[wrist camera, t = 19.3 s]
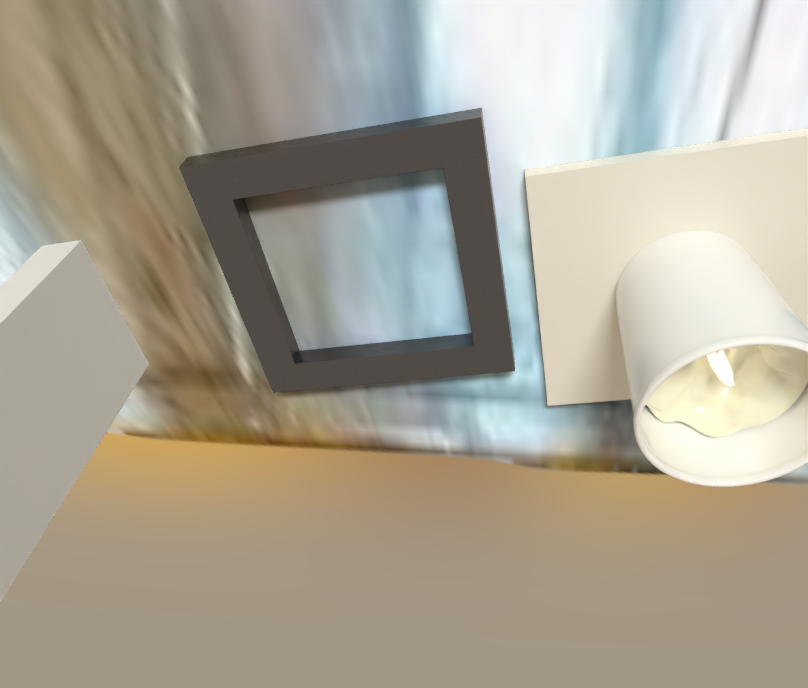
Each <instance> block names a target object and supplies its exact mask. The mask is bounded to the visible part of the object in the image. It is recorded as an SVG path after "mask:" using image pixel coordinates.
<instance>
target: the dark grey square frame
mask: <svg viewBox="0 0 808 688" xmlns="http://www.w3.org/2000/svg"><path fill="white" fill-rule="evenodd" d="M179 168H180V170H181V173H182V175H183V177H184V180H185V182H186V185H187V187H188V189H189V192H190V194H191V197H192V199H193V201H194V204H195V206H196V209H197V211H198V213H199V216H200V218H201V221H202V223H203V225H204V228H205V230H206V233H207V235H208V237H209V240H210V242H211V245H212V247H213V249H214V252H215V254H216V257H217V259H218V261H219V264H220V266H221V269H222V271H223V273H224V276H225V278H226V281H227V283H228V285H229V288H230V290H231V293H232V295H233V297H234V300H235V302H236V305H237V307H238V309H239V312H240V314H241V317H242V319H243V321H244V324H245V326H246V329H247V331H248V333H249V336H250V338H251V341H252V343H253V345H254V348H255V350H256V353H257V355H258V357H259V360H260V362H261V365H262V367H263V369H264V372H265V374H266V377H267V379H268V381H269V384H270V386H271V389H272V391H273V393H275V392H286V391H297V390H309V389H320V388H331V387H342V386H353V385H364V384H375V383H387V382H398V381H409V380H420V379H431V378H442V377H453V376H464V375H476V374H487V373H498V372H509V371H515V361H514V351H513V344H512V336H511V328H510V321H509V313H508V305H507V298H506V290H505V283H504V275H503V267H502V260H501V252H500V244H499V237H498V229H497V222H496V214H495V206H494V199H493V191H492V184H491V176H490V168H489V161H488V153H487V145H486V138H485V130H484V123H483V115H482V108H478V109H472V110H467V111H461V112H455V113H449V114H443V115H437V116H431V117H425V118H419V119H413V120H407V121H401V122H395V123H389V124H383V125H377V126H371V127H365V128H359V129H353V130H347V131H341V132H335V133H329V134H323V135H317V136H311V137H305V138H299V139H293V140H288V141H282V142H276V143H270V144H264V145H258V146H252V147H246V148H240V149H234V150H228V151H222V152H216V153H210V154H204V155H198V156H192V157H188V158H187V159H186V160H185V161H184V162H183V163H182V164H181V166H180V167H179ZM437 168H444V174H445V180H446V185H447V191H448V197H449V203H450V208H451V214H452V220H453V226H454V232H455V237H456V243H457V249H458V255H459V260H460V266H461V272H462V278H463V283H464V289H465V295H466V301H467V306H468V312H469V318H470V324H471V329H472V334H462V335H453V336H443V337H433V338H423V339H413V340H403V341H394V342H384V343H374V344H364V345H354V346H345V347H335V348H325V349H315V350H305V351H299V348H298V346H297V343H296V340H295V338H294V335H293V332H292V329H291V327H290V324H289V321H288V319H287V316H286V313H285V310H284V308H283V305H282V302H281V300H280V297H279V294H278V291H277V289H276V286H275V283H274V281H273V278H272V275H271V272H270V270H269V267H268V264H267V262H266V259H265V256H264V253H263V251H262V248H261V245H260V243H259V240H258V237H257V234H256V232H255V229H254V226H253V224H252V221H251V218H250V215H249V213H248V210H247V207H246V205H245V202H244V199H243V198H246V197H252V196H259V195H266V194H272V193H279V192H285V191H292V190H298V189H305V188H312V187H318V186H325V185H331V184H338V183H345V182H351V181H358V180H364V179H371V178H377V177H384V176H391V175H397V174H404V173H410V172H417V171H424V170H430V169H437Z"/></svg>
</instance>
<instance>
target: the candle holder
mask: <svg viewBox="0 0 808 688" xmlns="http://www.w3.org/2000/svg"><path fill="white" fill-rule="evenodd" d="M616 309H617V317H618V324H619V330H620V337H621V343H622V349H623V355H624V362H625V368H626V374H627V380H628V387H629V393H630V399H631V405H632V412H633V418H634V420H633V426H634V434H635V438H636V441H637V444H638V446H639V448H640V450H641V451H642V453H643V454H644V456H645V457H646V458H647V459H648V461H649V462H650V463H652V464H653V465H654V466H655V467H656V468H658V469H659V470H661V471H662V472H664V473H665V474H667V475H669V476H671V477H674V478H676V479H679V480H682V481H685V482H688V483H692V484H697V485H704V486H714V487H731V486H742V485H749V484H755V483H759V482H763V481H767V480H771V479H774V478H777V477H780V476H782V475H785V474H787V473H789V472H792V471H794V470H796V469H798V468H800V467H801V466H803V465H805V464H807V463H808V328H807V326H806V325H805V324H804V322H803V321H802V320H801V319H800V317H799V316H798V315H797V313H796V312H795V311H794V309H793V308H792V307H791V306H790V304H789V303H788V302H787V300H786V299H785V298H784V296H783V295H782V294H781V292H780V291H779V290H778V289H777V287H776V286H775V285H774V283H773V282H772V281H771V279H770V278H769V277H768V276H767V274H766V273H765V272H764V270H763V269H762V268H761V267H760V265H759V264H758V263H757V262H756V260H755V259H754V258H753V257H752V255H751V254H750V253H749V252H748V251H747V250H746V249H745V248H744V247H743V246H742V245H741V244H740V243H738V242H737V241H735V240H734V239H732V238H730V237H728V236H726V235H723V234H721V233H717V232H713V231H706V230H689V231H682V232H677V233H673V234H670V235H667V236H664V237H662V238H659V239H657V240H655V241H654V242H652V243H650V244H648V245H647V246H645V247H644V248H643V249H641V250H640V251H639V252H638V253H637V254H636V255H635V256H634V257H633V258H632V259H631V260H630V261H629V262H628V264H627V265H626V266H625V268H624V270H623V271H622V273H621V275H620V278H619V280H618V284H617V288H616Z"/></svg>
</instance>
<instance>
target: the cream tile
mask: <svg viewBox="0 0 808 688" xmlns="http://www.w3.org/2000/svg"><path fill="white" fill-rule="evenodd" d="M524 171H525V181H526V191H527V201H528V211H529V221H530V231H531V242H532V252H533V262H534V272H535V282H536V292H537V302H538V312H539V322H540V332H541V342H542V352H543V362H544V372H545V383H546V393H547V402H548V406H552V405H565V404H577V403H590V402H603V401H615V400H628V399H630V393H629V387H628V380H627V374H626V368H625V362H624V355H623V349H622V343H621V337H620V330H619V324H618V317H617V309H616V288H617V284H618V280H619V278H620V275H621V273H622V271H623V270H624V268H625V266H626V265H627V264H628V262H629V261H630V260H631V259H632V258H633V257H634V256H635V255H636V254H637V253H638V252H639V251H640V250H641V249H643V248H644V247H645V246H647V245H648V244H650V243H652V242H654V241H655V240H657V239H659V238H662V237H664V236H667V235H670V234H673V233H677V232H682V231H689V230H706V231H713V232H717V233H721V234H723V235H726V236H728V237H730V238H732V239H734V240H735V241H737V242H738V243H740V244H741V245H742V246H743V247H744V248H745V249H746V250H747V251H748V252H749V253H750V254H751V255H752V257H753V258H754V259H755V260H756V262H757V263H758V264H759V265H760V267H761V268H762V269H763V270H764V272H765V273H766V274H767V276H768V277H769V278H770V279H771V281H772V282H773V283H774V285H775V286H776V287H777V289H778V290H779V291H780V292H781V294H782V295H783V296H784V298H785V299H786V300H787V302H788V303H789V304H790V306H791V307H792V308H793V309H794V311H795V312H796V313H797V315H798V316H799V317H800V319H801V320H802V321H803V322H804V324H805V325H806V326H807V328H808V128H803V129H797V130H790V131H783V132H776V133H770V134H763V135H756V136H749V137H743V138H736V139H729V140H722V141H715V142H709V143H702V144H695V145H688V146H682V147H675V148H668V149H661V150H654V151H648V152H641V153H634V154H627V155H621V156H614V157H607V158H600V159H594V160H587V161H580V162H573V163H566V164H560V165H553V166H546V167H539V168H533V169H526V170H524Z"/></svg>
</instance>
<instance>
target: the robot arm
mask: <svg viewBox="0 0 808 688" xmlns="http://www.w3.org/2000/svg"><path fill="white" fill-rule="evenodd" d="M148 365H149V364H148V362H147V360H146V358H145V356H144V354H143V353H142V351H141V349H140V347H139V345H138V343H137V341H136V340H135V338H134V336H133V334H132V332H131V330H130V329H129V327H128V325H127V323H126V321H125V319H124V318H123V316H122V314H121V312H120V310H119V308H118V307H117V305H116V303H115V301H114V299H113V297H112V295H111V294H110V292H109V290H108V288H107V286H106V284H105V283H104V281H103V279H102V277H101V275H100V273H99V272H98V270H97V268H96V266H95V264H94V262H93V260H92V259H91V257H90V255H89V253H88V251H87V249H86V248H85V246H84V244H83V242H82V240H79V241H72V242H65V243H59V244H52V245H45V246H42V247H41V248H40V249H39V250H38V251H37V252H36V253H34V254H33V255H32V256H31V257H30V258H29V259H28V260H27V261H26V262H25V263H24V264H23V265H22V266H21V267H20V268H19V269H18V270H17V271H16V272H14V273H13V274H12V275H11V276H10V277H9V278H8V279H7V280H6V281H5V282H4V283H3V284H2V285H1V286H0V602H1V600H2V598H3V597H4V595H5V594H6V592H7V590H8V589H9V587H10V585H11V584H12V582H13V581H14V579H15V578H16V576H17V574H18V573H19V571H20V569H21V568H22V566H23V565H24V563H25V562H26V560H27V558H28V557H29V555H30V553H31V552H32V550H33V549H34V547H35V545H36V544H37V542H38V541H39V539H40V537H41V536H42V534H43V533H44V531H45V530H46V528H47V526H48V525H49V523H50V521H51V520H52V518H53V517H54V515H55V513H56V512H57V510H58V509H59V507H60V505H61V504H62V502H63V501H64V499H65V498H66V496H67V494H68V493H69V491H70V489H71V488H72V486H73V485H74V483H75V481H76V480H77V478H78V477H79V475H80V474H81V472H82V470H83V469H84V467H85V466H86V464H87V462H88V461H89V459H90V458H91V456H92V454H93V453H94V451H95V450H96V448H97V446H98V444H99V443H100V442H101V440H102V438H103V437H104V435H105V434H106V432H107V430H108V429H109V427H110V426H111V424H112V422H113V421H114V419H115V418H116V416H117V414H118V413H119V411H120V410H121V408H122V406H123V405H124V403H125V402H126V400H127V398H128V397H129V395H130V394H131V392H132V390H133V389H134V387H135V386H136V384H137V382H138V381H139V379H140V378H141V376H142V374H143V373H144V371H145V370H146V368H147V366H148Z"/></svg>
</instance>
